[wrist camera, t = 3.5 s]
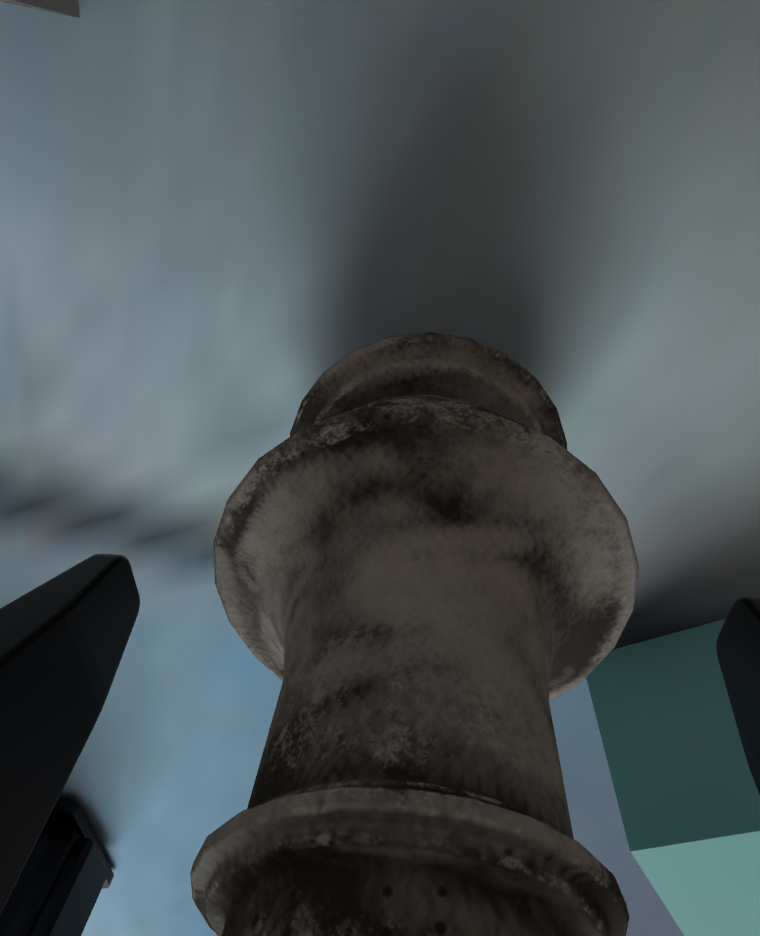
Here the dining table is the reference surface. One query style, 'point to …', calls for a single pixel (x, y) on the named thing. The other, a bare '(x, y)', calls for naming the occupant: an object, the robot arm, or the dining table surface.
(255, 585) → the salt shaker
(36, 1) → the grey cube
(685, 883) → the teal block
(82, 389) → the dining table surface
